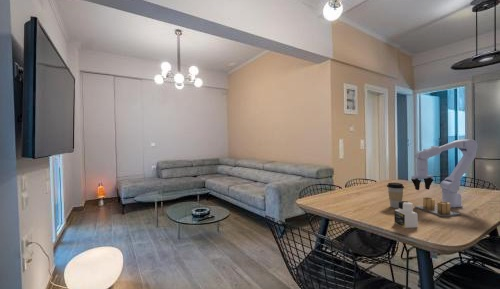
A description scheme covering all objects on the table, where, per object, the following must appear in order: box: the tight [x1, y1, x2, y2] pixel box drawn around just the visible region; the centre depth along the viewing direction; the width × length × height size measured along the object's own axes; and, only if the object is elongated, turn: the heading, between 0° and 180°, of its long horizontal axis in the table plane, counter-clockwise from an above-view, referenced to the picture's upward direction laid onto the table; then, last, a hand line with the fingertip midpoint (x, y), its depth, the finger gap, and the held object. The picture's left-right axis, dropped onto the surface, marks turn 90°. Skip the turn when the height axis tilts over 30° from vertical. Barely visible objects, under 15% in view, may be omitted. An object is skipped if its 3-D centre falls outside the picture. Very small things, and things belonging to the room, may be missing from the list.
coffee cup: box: [386, 182, 405, 209], centre depth 148 cm, size 9×9×15 cm
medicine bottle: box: [393, 200, 419, 229], centre depth 117 cm, size 7×7×12 cm
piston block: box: [413, 200, 462, 218], centre depth 138 cm, size 12×18×6 cm, turn 9°
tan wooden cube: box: [422, 196, 436, 209], centre depth 142 cm, size 6×6×6 cm
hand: (422, 189), depth 152 cm, fingers open, 7 cm apart
